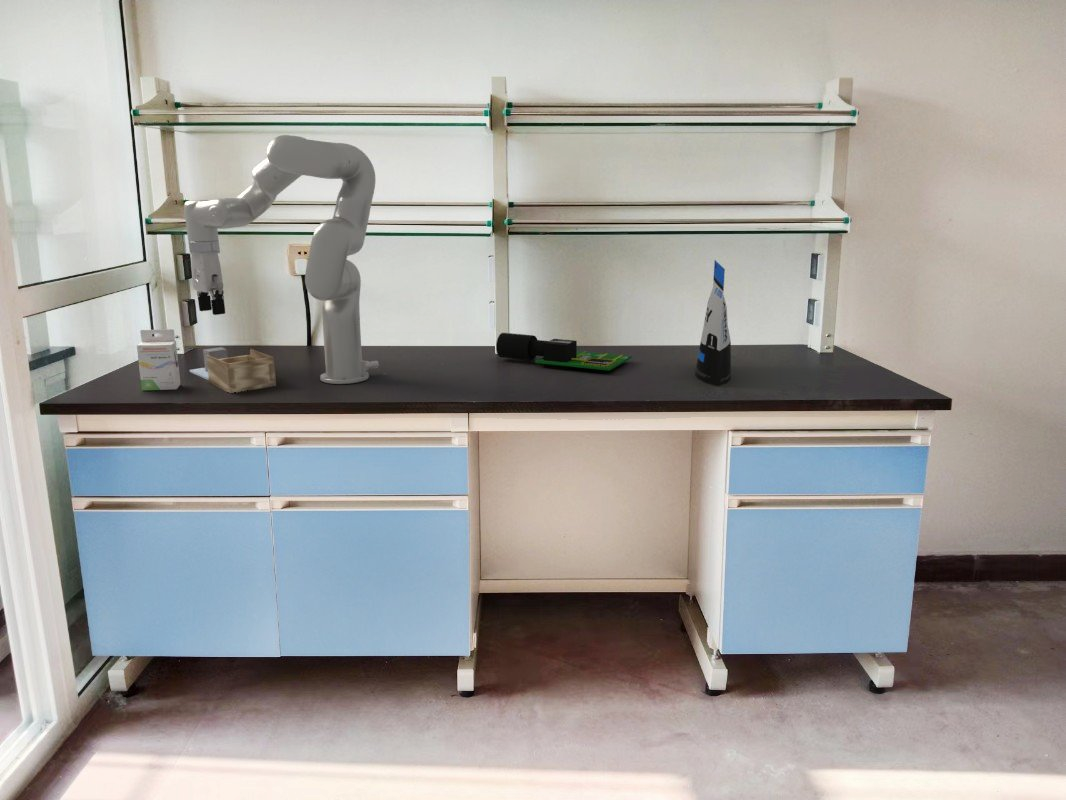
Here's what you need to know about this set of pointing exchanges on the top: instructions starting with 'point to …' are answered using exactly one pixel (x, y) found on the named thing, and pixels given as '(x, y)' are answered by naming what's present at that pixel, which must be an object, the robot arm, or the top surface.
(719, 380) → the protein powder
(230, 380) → the beech box
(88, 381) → the top surface
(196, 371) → the cover plate
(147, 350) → the ink box
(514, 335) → the electronic board model
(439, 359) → the top surface
